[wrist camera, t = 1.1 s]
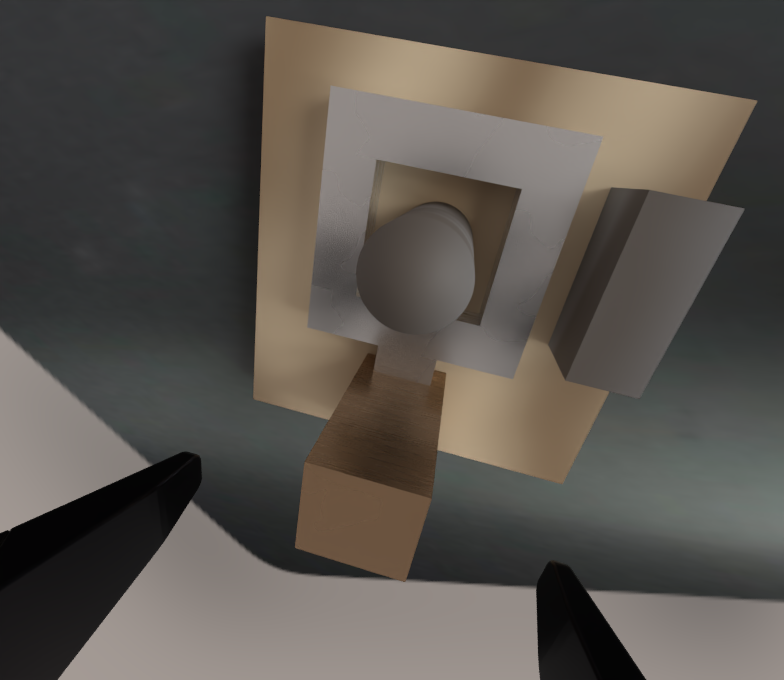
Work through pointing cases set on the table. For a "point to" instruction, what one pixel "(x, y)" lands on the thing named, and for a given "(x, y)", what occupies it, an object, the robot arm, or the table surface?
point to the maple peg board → (491, 236)
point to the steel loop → (420, 352)
